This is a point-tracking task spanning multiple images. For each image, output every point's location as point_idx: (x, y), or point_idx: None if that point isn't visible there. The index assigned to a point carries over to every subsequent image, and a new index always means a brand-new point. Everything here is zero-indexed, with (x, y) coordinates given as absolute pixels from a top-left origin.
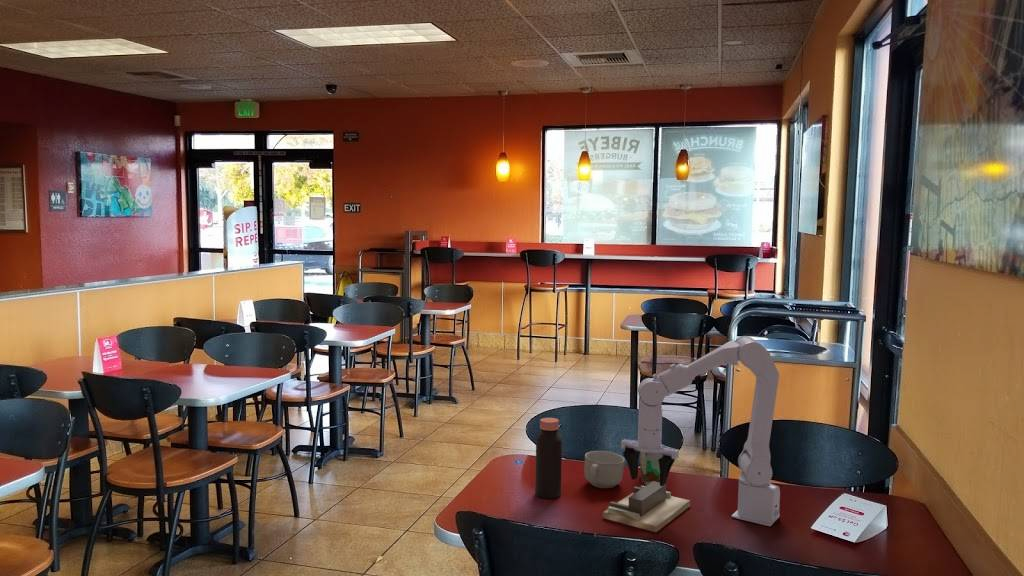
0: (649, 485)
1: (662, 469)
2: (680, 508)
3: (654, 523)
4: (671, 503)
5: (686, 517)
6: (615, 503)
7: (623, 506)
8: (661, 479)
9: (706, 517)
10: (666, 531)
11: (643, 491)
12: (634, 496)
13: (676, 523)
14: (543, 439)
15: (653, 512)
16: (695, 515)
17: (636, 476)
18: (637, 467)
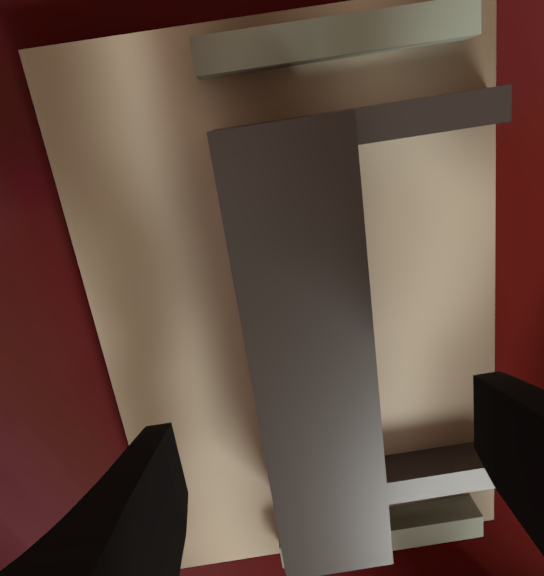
0: (368, 478)
1: (49, 566)
2: None
3: (65, 87)
4: (212, 466)
5: (78, 409)
6: (464, 101)
7: (382, 105)
8: (125, 460)
9: (4, 484)
10: (7, 130)
11: (332, 339)
12: (323, 171)
13: (56, 293)
14: None
15: (203, 264)
16: (64, 466)
17: (481, 438)
18: (537, 533)
